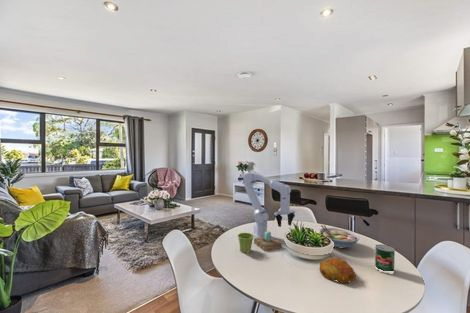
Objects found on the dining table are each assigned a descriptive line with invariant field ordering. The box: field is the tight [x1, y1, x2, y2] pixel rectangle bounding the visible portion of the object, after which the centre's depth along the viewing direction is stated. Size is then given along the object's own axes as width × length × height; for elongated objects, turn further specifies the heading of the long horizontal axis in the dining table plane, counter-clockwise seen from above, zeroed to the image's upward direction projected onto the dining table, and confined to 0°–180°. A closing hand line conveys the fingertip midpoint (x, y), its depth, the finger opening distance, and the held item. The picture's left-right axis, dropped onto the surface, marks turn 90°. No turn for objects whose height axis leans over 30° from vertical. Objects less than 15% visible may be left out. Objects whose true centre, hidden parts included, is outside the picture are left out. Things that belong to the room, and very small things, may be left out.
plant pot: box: [237, 232, 255, 254], centre depth 130 cm, size 9×9×9 cm
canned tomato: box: [374, 244, 396, 272], centre depth 110 cm, size 8×8×11 cm
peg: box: [265, 230, 272, 243], centre depth 137 cm, size 4×4×8 cm
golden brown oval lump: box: [319, 257, 357, 284], centre depth 105 cm, size 14×16×8 cm
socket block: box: [253, 235, 282, 252], centre depth 137 cm, size 12×12×3 cm
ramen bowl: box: [318, 224, 361, 248], centre depth 139 cm, size 25×23×8 cm
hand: (284, 225), depth 143 cm, fingers open, 7 cm apart
